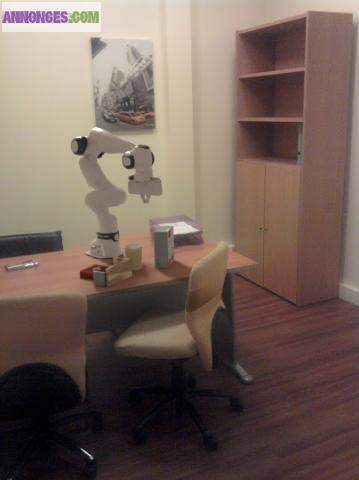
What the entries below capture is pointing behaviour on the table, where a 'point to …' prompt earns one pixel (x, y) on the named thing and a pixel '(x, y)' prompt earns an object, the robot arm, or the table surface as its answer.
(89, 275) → the hardcover book
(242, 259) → the table surface
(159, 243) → the hard drive box
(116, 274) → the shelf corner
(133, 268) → the coffee cup
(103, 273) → the bookend
